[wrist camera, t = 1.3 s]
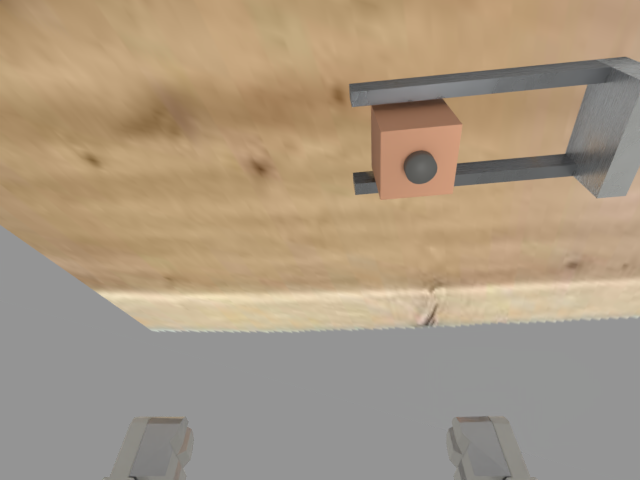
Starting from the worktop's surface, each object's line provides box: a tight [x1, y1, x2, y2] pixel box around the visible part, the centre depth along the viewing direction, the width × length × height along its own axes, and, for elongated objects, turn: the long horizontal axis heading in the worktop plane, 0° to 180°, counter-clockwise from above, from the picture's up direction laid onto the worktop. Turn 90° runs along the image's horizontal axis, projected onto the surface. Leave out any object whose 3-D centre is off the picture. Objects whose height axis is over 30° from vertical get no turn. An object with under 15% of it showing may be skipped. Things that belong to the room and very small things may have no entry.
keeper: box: [371, 99, 463, 200], centre depth 27 cm, size 5×5×6 cm
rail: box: [349, 57, 640, 198], centre depth 28 cm, size 19×8×5 cm, turn 95°
